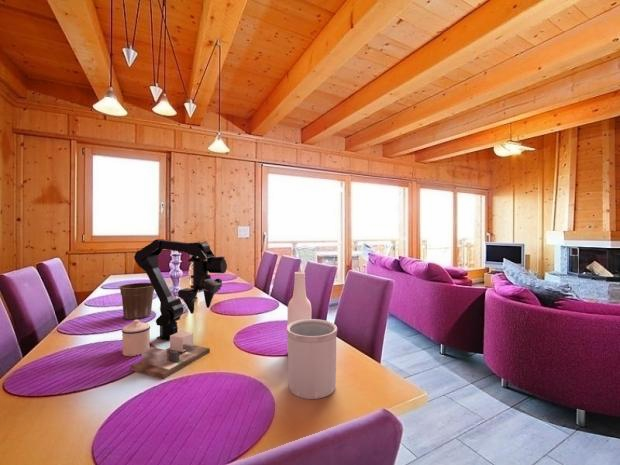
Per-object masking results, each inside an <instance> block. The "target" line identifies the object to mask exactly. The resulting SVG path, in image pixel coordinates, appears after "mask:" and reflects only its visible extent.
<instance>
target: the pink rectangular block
mask: <svg viewBox="0 0 620 465" xmlns="http://www.w3.org/2000/svg"><path fill="white" fill-rule="evenodd" d="M194 345H195V344H194V332H187V331H183V330H180V331H178V332H177V333H175V334H173V335H170V340H169V348H170V349H171V350H176V351H180V352H184V351H186V350H189V351H193V350H194Z"/></svg>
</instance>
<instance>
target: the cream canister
mask: <svg viewBox="0 0 620 465" xmlns="http://www.w3.org/2000/svg"><path fill="white" fill-rule="evenodd" d="M150 329H151V325H150V324H149V323H146V322H142V321H140V319H133V322H131V323H130V324H128V325H126V326H124V327H123V328H122V330H121V333H122V335H121V336H122V355H123V356H126V357H135V356H136V355H137V356H140V354H141V355H142V351H143V350H145V349H148V348H150V347H151V346H150V344H151V342H150V339H151V337H150V336H151V335H150V331H151V330H150Z"/></svg>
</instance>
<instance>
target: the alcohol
mask: <svg viewBox="0 0 620 465" xmlns="http://www.w3.org/2000/svg"><path fill="white" fill-rule="evenodd" d="M293 282H294V284H293V293H292V297H291V298H290V300H289V302H288V304H287V322H286V323H287V326H288V325H289V324H290V323H292V322H295V321H298V320H305V319H312V304H311V301H310V300H309V298H308V297H307V292H306V291H307V288H306V272H304V271H295V272H294V281H293ZM287 326H286V327H287ZM286 335H287V334H286ZM286 343H287V345H286V346H287V347H286V348H287V349H286V352H287V353H288V335H287V341H286Z"/></svg>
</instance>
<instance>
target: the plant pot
mask: <svg viewBox="0 0 620 465" xmlns="http://www.w3.org/2000/svg"><path fill="white" fill-rule="evenodd" d="M118 288H119V289H120V295H121V300H122V313H123V314H122V315H123V318H124V319H125V318H126V320H136V319H139V318H140V319H144V318H143V317H145V318H147V317H146V316H148V317H150V316H152V307H153V298H154V297H153V296H154V292H155V290H154V288H153V286H152V283H151V282H135V283H134V282H133V283H127V284H126V283H125V284H121V285H119V286H118ZM149 315H150V316H149Z"/></svg>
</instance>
